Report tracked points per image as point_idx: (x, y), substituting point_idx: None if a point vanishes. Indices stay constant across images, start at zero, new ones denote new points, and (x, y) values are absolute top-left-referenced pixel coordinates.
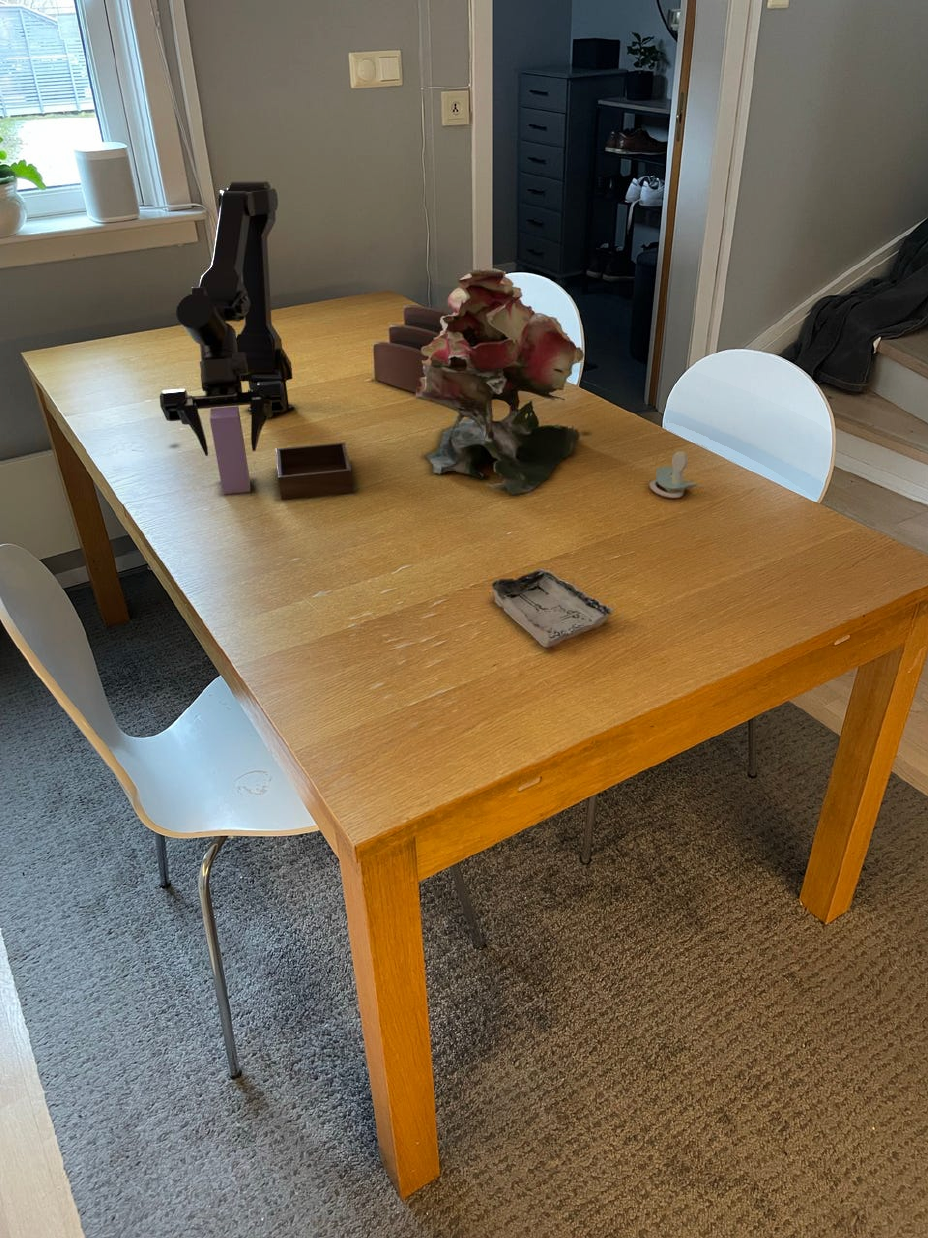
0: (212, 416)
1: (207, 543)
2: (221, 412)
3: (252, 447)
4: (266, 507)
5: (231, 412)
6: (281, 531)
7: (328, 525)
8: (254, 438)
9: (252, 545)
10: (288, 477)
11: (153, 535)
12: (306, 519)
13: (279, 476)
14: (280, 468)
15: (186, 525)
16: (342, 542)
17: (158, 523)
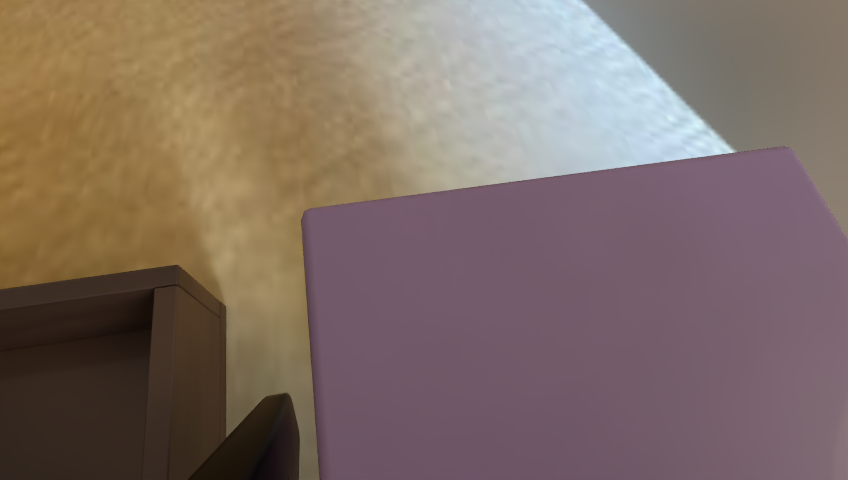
0: (790, 219)
1: (465, 35)
2: (711, 431)
3: (284, 393)
4: (292, 244)
5: (471, 409)
6: (235, 79)
7: (65, 101)
8: (236, 446)
9: (325, 17)
10: (121, 273)
11: (655, 86)
12: (138, 144)
13: (170, 276)
14: (153, 389)
15: (572, 135)
16: (46, 11)
17: (678, 154)
